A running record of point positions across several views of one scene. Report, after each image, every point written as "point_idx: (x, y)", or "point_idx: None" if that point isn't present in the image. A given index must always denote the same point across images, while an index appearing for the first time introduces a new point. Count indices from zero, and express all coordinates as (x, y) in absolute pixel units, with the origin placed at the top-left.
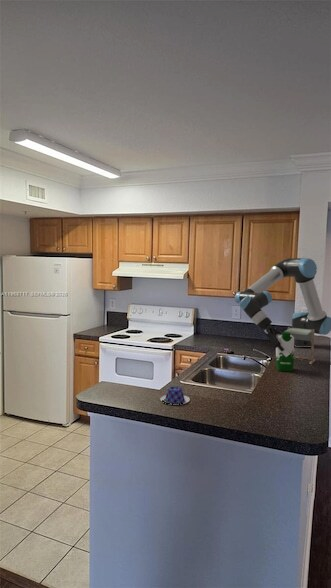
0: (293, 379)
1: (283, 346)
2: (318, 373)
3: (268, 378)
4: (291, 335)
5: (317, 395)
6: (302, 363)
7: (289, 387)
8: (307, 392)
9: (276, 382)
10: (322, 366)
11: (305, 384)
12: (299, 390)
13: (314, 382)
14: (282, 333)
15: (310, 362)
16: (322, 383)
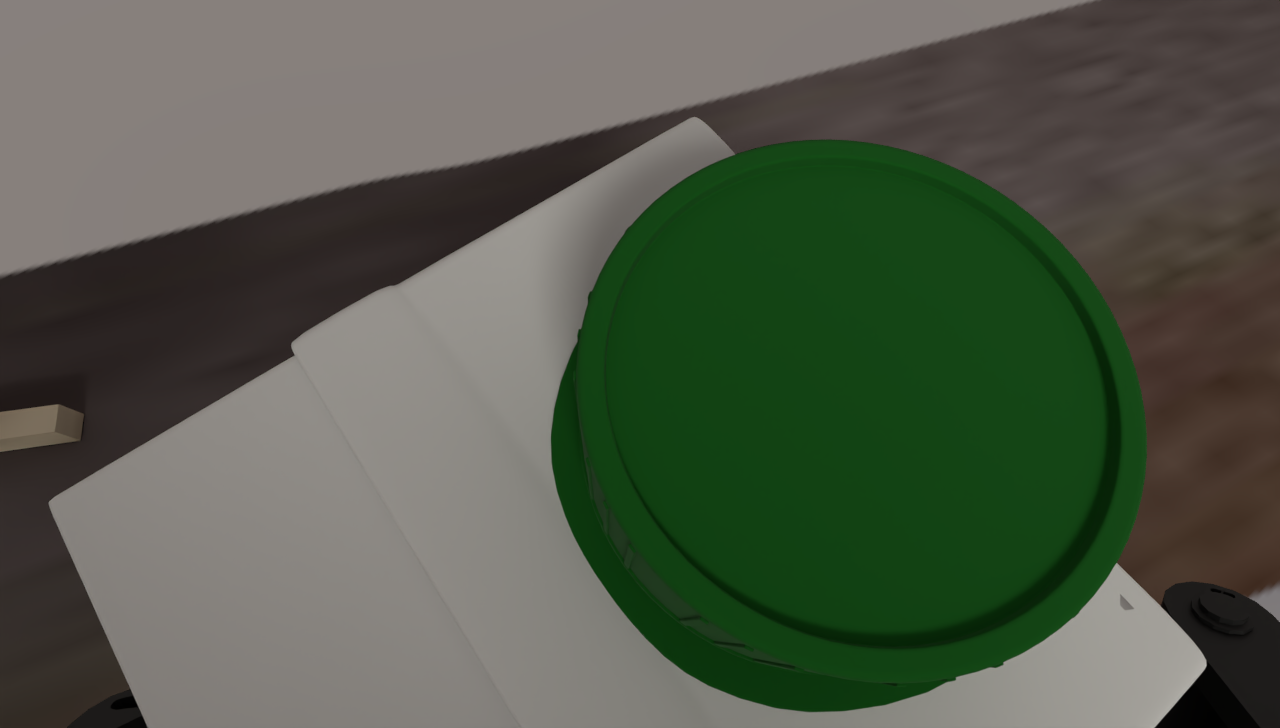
0: None
1: None
2: (494, 205)
3: (1188, 567)
4: (328, 352)
5: (1185, 16)
6: (62, 543)
7: (1232, 246)
8: (1196, 88)
9: (1225, 415)
10: (104, 270)
11: (1004, 172)
12: (1216, 151)
13: (867, 134)
14: (1070, 586)
15: (54, 414)
16: (835, 76)
